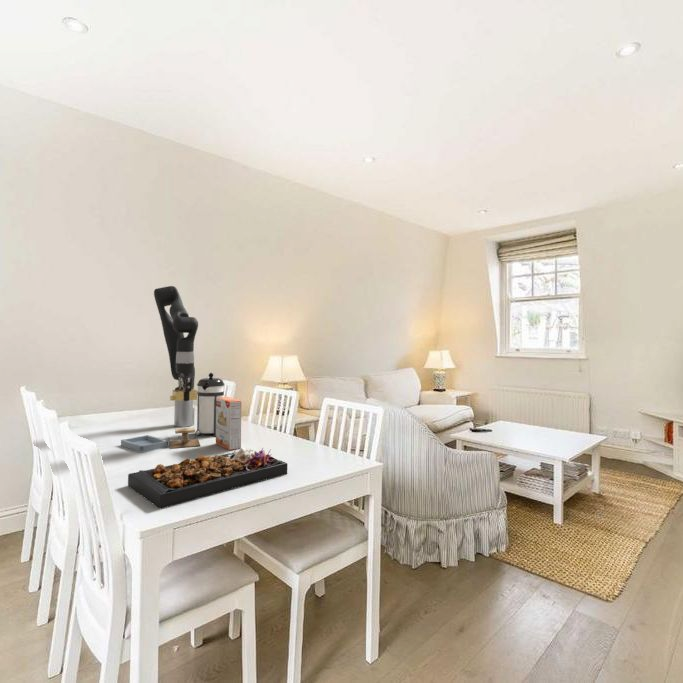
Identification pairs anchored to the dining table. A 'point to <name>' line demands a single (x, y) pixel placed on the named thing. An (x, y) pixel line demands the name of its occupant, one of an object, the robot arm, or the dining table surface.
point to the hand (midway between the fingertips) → (184, 399)
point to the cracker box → (228, 423)
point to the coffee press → (208, 403)
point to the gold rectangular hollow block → (179, 395)
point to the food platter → (204, 476)
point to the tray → (144, 443)
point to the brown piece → (184, 439)
